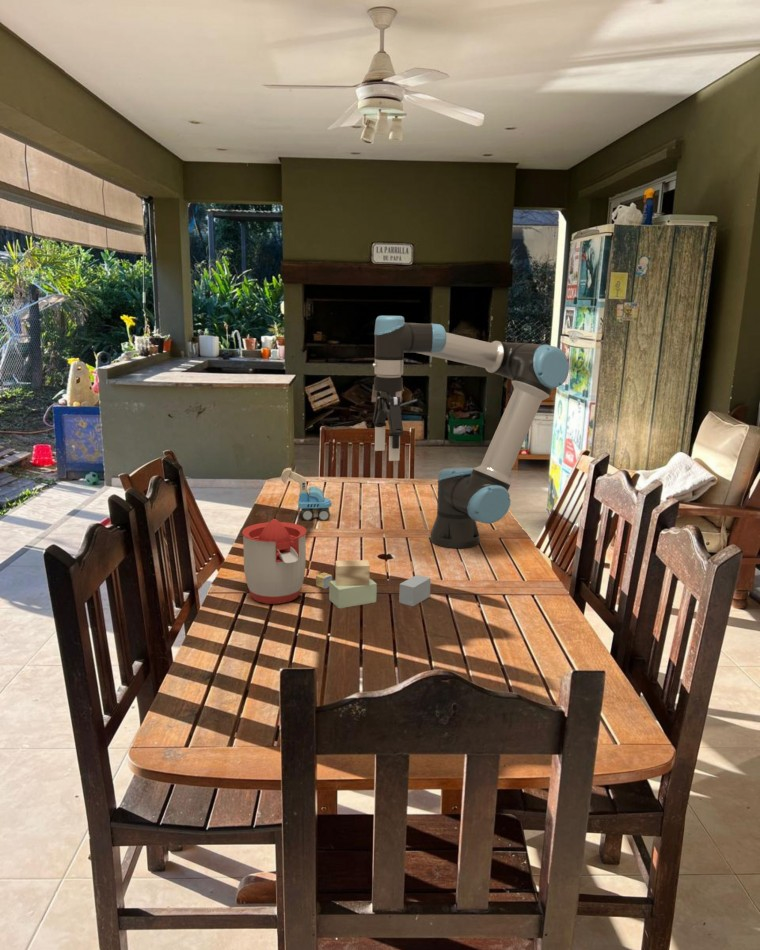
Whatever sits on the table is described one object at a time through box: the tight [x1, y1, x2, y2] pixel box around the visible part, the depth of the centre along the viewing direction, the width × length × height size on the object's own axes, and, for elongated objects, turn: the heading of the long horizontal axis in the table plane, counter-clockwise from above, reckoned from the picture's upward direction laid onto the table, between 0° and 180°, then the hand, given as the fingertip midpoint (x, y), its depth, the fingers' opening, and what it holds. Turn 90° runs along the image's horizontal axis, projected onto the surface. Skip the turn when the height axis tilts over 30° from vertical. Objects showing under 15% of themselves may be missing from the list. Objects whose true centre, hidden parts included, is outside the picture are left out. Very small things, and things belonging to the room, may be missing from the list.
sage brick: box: [328, 577, 378, 609], centre depth 186 cm, size 10×6×5 cm, turn 116°
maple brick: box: [334, 559, 371, 586], centre depth 184 cm, size 8×4×5 cm, turn 96°
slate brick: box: [398, 574, 432, 607], centre depth 187 cm, size 8×4×5 cm, turn 145°
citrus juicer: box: [241, 518, 308, 605], centre depth 185 cm, size 16×17×20 cm
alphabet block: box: [315, 572, 333, 589], centre depth 195 cm, size 3×3×3 cm
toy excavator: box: [281, 467, 332, 522], centre depth 254 cm, size 9×17×17 cm, turn 95°
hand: (386, 455), depth 203 cm, fingers open, 13 cm apart
